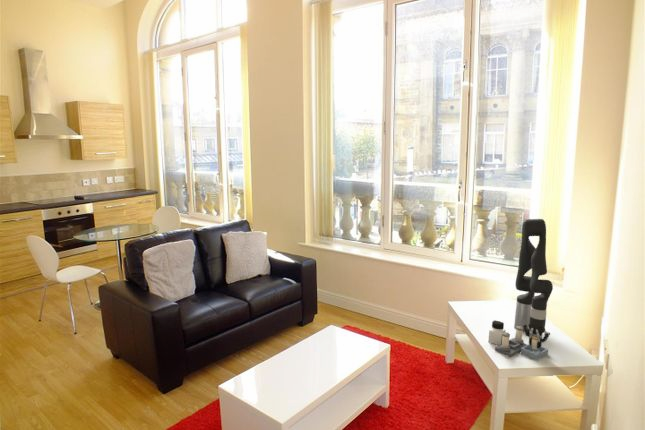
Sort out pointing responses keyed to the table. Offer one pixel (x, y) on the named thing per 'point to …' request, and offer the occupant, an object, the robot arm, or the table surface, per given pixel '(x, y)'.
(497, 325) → the medicine bottle
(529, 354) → the tray
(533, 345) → the marked fuse
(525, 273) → the robot arm
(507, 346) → the fuse holder
